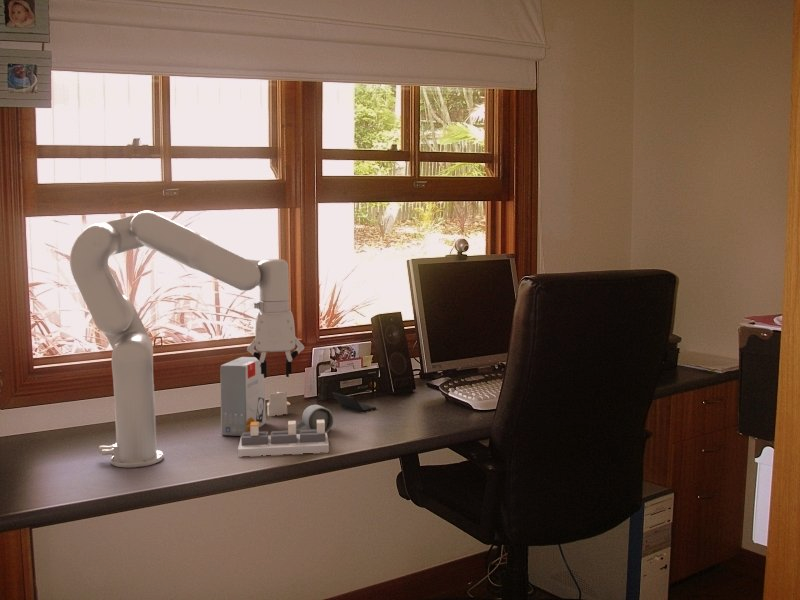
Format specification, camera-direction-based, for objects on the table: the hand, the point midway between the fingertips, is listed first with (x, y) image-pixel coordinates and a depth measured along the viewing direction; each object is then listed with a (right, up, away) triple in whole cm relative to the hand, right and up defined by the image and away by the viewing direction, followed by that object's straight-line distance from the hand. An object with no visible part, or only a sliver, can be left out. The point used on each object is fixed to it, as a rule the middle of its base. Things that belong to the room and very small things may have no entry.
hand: (276, 375), depth 211 cm
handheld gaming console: (+18, -15, +45) cm, 50 cm away
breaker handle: (-6, -15, +1) cm, 16 cm away
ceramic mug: (+8, -18, +18) cm, 26 cm away
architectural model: (-6, -16, +38) cm, 42 cm away
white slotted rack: (+2, -19, +2) cm, 19 cm away
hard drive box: (-12, -18, +22) cm, 30 cm away
